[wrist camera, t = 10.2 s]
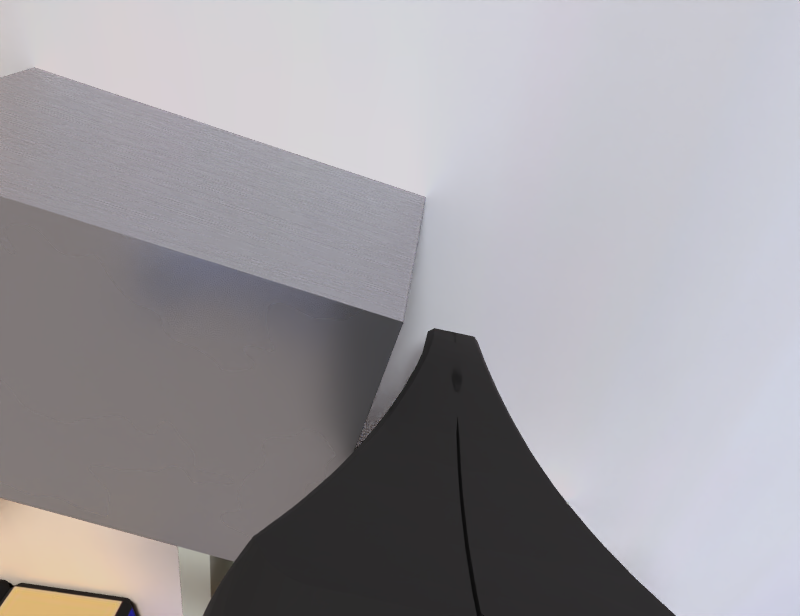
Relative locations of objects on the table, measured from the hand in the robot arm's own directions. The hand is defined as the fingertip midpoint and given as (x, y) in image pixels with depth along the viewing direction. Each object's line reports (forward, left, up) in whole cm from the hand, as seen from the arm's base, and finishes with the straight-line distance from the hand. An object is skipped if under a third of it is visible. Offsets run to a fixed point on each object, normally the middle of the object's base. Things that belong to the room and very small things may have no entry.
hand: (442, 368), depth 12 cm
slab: (+6, 0, -2) cm, 6 cm away
